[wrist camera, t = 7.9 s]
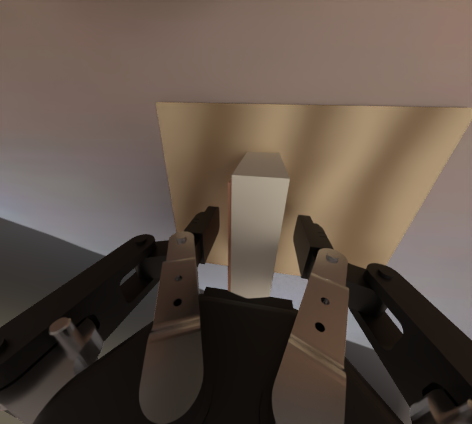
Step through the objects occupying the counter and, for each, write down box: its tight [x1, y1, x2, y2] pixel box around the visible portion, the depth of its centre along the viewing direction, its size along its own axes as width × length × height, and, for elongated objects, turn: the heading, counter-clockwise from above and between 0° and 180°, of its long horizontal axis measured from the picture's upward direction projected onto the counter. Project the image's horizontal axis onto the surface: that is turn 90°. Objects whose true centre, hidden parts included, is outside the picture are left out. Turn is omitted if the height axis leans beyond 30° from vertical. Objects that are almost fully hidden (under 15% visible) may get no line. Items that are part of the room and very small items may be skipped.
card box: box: [228, 152, 290, 298], centre depth 12 cm, size 3×9×6 cm, turn 178°
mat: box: [156, 102, 472, 276], centre depth 15 cm, size 20×15×1 cm
